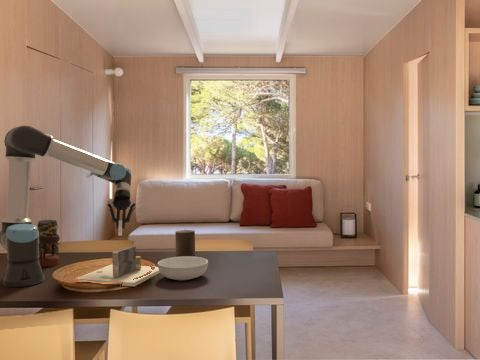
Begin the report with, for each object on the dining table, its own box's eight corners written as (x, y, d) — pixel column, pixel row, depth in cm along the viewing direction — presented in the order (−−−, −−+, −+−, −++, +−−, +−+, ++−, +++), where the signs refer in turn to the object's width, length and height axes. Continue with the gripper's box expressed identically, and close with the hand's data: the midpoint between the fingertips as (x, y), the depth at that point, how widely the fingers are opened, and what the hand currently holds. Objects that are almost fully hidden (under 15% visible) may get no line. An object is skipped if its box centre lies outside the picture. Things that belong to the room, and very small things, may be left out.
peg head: (135, 267, 201) (134, 244, 200) (142, 268, 199) (142, 244, 199) (111, 277, 185) (110, 252, 184) (119, 277, 183) (118, 252, 183)
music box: (45, 268, 210) (44, 225, 209) (27, 267, 214) (26, 224, 213) (69, 261, 224) (67, 221, 223) (52, 260, 228) (50, 220, 227)
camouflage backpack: (61, 252, 246) (59, 218, 245) (52, 256, 238) (51, 220, 238) (44, 252, 248) (43, 218, 247) (36, 255, 240) (34, 220, 239)
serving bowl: (161, 286, 176) (160, 269, 176) (155, 274, 196) (155, 258, 196) (213, 281, 182) (213, 264, 182) (202, 269, 202) (202, 254, 202)
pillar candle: (190, 261, 220) (189, 230, 219) (172, 259, 223) (171, 229, 222) (198, 257, 229) (198, 227, 228) (181, 256, 232) (180, 226, 232)
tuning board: (134, 286, 177) (134, 282, 177) (75, 282, 185) (75, 278, 185) (164, 270, 202) (164, 266, 202) (111, 267, 210) (111, 263, 210)
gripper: (136, 198, 222) (135, 238, 206) (109, 199, 220) (105, 239, 204) (135, 188, 217) (134, 228, 201) (107, 189, 214) (104, 229, 199)
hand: (120, 233), depth 202 cm, fingers closed
